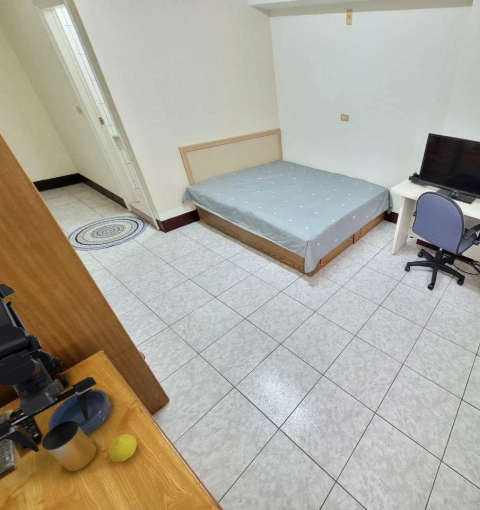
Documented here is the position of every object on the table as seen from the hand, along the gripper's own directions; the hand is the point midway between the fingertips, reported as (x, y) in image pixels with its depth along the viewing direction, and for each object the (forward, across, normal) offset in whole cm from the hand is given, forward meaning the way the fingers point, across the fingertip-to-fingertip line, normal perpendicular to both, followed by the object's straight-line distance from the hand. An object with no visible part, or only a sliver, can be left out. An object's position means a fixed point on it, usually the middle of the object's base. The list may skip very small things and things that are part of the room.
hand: (64, 435), depth 65 cm
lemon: (+14, +8, 0) cm, 16 cm away
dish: (-1, +3, +14) cm, 14 cm away
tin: (+8, 0, +5) cm, 9 cm away
